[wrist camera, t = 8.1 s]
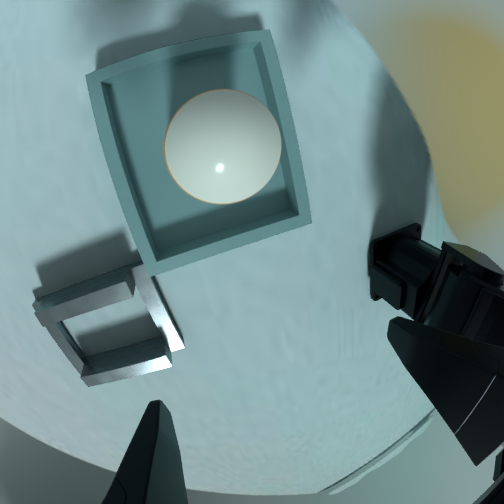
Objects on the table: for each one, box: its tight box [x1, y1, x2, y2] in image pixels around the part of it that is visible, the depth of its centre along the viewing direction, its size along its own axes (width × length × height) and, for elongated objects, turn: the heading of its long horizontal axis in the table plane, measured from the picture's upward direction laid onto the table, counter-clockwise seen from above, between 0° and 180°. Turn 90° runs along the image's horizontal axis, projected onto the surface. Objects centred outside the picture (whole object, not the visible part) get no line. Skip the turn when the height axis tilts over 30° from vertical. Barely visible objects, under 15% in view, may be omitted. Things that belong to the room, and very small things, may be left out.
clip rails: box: [32, 260, 185, 387], centre depth 18 cm, size 10×8×2 cm
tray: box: [85, 30, 312, 277], centre depth 16 cm, size 11×13×2 cm
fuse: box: [164, 89, 282, 204], centre depth 12 cm, size 4×4×8 cm
